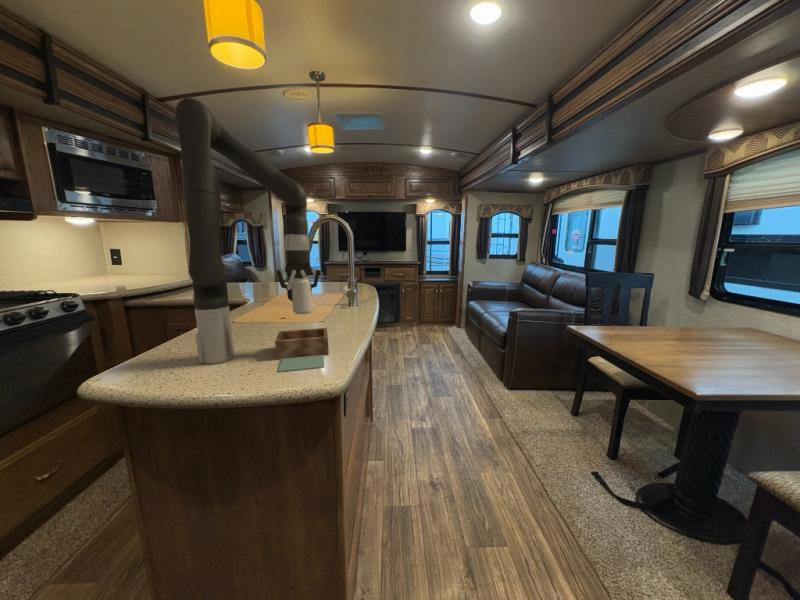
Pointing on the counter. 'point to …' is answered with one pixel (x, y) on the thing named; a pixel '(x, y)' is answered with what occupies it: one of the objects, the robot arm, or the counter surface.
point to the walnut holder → (301, 343)
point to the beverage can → (301, 296)
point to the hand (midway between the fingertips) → (300, 300)
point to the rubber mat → (301, 363)
